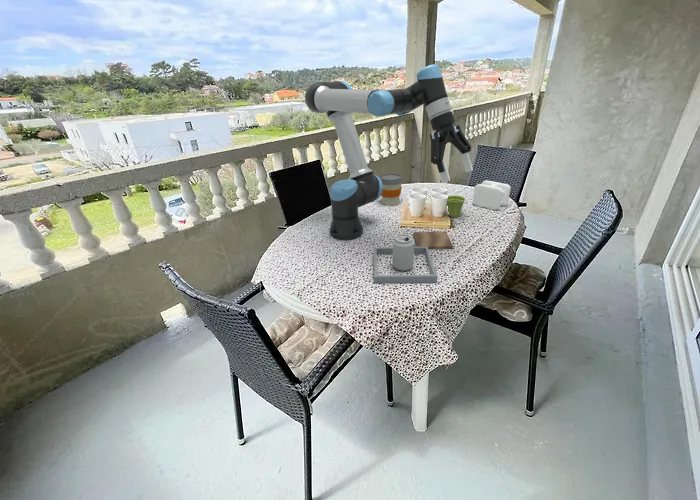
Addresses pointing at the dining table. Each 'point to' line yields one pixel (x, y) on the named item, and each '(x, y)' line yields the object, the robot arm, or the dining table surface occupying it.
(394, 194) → the reusable coffee cup
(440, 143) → the robot arm
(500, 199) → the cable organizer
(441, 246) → the pad
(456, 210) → the plant pot
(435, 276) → the gray square frame
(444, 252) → the dining table surface
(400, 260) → the can
